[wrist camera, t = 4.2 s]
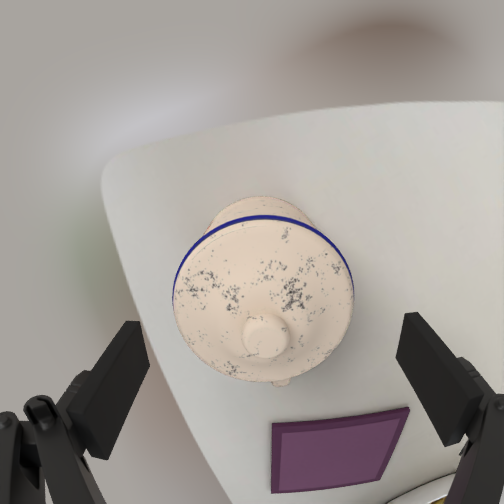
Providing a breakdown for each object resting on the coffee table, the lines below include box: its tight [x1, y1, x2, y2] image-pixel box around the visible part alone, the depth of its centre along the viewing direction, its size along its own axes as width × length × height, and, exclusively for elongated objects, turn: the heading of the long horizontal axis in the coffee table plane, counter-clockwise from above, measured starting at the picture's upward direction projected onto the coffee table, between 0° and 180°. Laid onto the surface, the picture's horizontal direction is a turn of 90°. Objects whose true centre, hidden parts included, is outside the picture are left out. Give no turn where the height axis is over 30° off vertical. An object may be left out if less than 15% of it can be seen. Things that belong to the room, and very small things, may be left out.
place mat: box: [271, 407, 410, 494], centre depth 31 cm, size 15×15×1 cm
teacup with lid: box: [172, 196, 354, 387], centre depth 19 cm, size 12×9×12 cm
